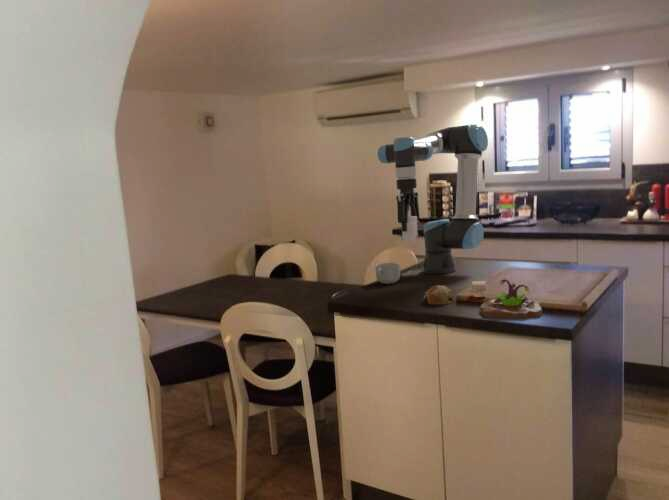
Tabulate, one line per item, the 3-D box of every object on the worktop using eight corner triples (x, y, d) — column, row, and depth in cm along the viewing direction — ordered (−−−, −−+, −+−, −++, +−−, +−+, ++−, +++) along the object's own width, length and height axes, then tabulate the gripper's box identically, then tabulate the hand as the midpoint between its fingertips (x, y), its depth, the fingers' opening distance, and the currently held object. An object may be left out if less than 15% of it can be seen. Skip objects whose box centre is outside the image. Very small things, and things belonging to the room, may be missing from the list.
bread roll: (442, 315, 214) (450, 296, 211) (417, 302, 219) (425, 283, 216) (452, 308, 223) (460, 290, 220) (428, 295, 227) (435, 277, 224)
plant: (482, 304, 212) (481, 273, 210) (541, 304, 206) (540, 272, 204) (478, 320, 193) (476, 286, 192) (542, 320, 187) (541, 285, 185)
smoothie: (418, 242, 229) (415, 206, 227) (401, 243, 231) (398, 207, 228) (419, 240, 235) (417, 204, 233) (403, 241, 237) (400, 205, 235)
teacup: (387, 278, 267) (386, 261, 266) (406, 280, 260) (405, 262, 258) (366, 285, 258) (364, 267, 257) (385, 287, 250) (384, 268, 249)
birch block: (473, 294, 226) (472, 281, 226) (487, 294, 225) (486, 281, 224) (472, 297, 222) (471, 284, 221) (486, 297, 220) (485, 284, 219)
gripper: (408, 176, 239) (412, 234, 243) (385, 180, 224) (389, 242, 227) (426, 175, 235) (429, 234, 239) (403, 179, 219) (407, 242, 223)
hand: (410, 238), depth 233 cm, fingers closed on smoothie, 6 cm apart
